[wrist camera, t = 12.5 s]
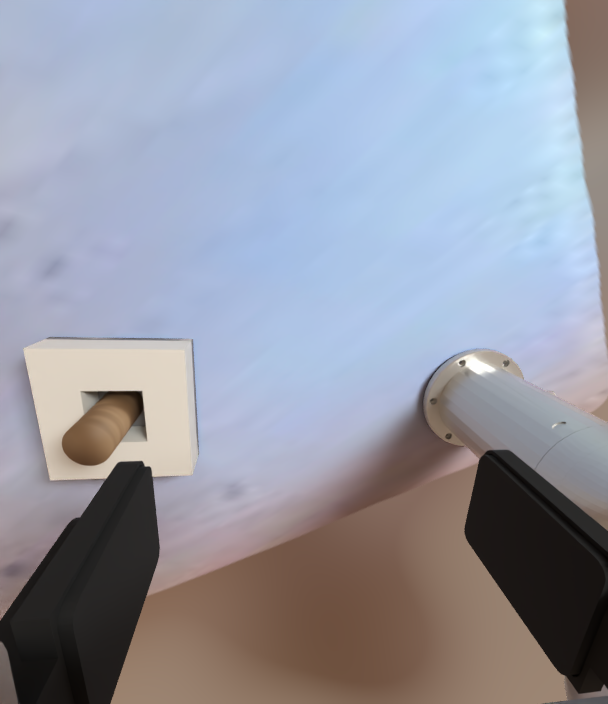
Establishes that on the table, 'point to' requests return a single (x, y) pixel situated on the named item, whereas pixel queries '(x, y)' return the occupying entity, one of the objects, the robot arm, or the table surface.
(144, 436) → the bore block
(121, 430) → the pin
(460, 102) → the table surface
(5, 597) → the table surface
